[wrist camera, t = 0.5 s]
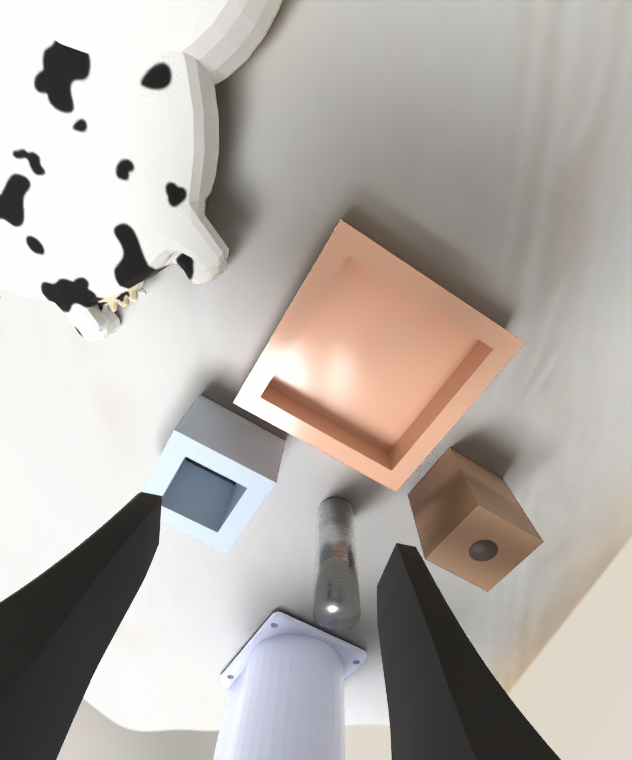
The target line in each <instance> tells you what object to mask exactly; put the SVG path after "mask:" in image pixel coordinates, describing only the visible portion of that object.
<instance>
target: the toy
mask: <svg viewBox="0 0 632 760" xmlns="http://www.w3.org/2000/svg"><path fill="white" fill-rule="evenodd" d="M282 1H283V0H0V288H1V289H4V290H7V291H10V292H13V293H16V294H18V295H21V296H26V297H30V298H35V299H40V300H48V301H52V302H55V303H56V304H57V305H58V306H59V307H60V309H61V310H62V311H63V312H64V313H65V314H66V316H67V317H68V318H69V320H70V321H71V323H72V324H73V325H74V326H75V328H76V330H77V331H78V333H79V334H80V335H81V336H82V337H83V338H85V339H86V340H87V341H90V342H98V341H100V340H101V339H103V338H105V337H107V336H109V335H110V334H112V333H114V332H115V331H116V330H118V329H119V327H120V326H121V323H120V319H119V318H118V316H117V315H116V314H115V313H114V312H115V311H116V310H117V306H118V304H119V305H121V306H122V307H127V306H128V304H129V300H130V301H132V302H136V301H137V300H138V299H137V298H138V294H137V293H139V294H141V295H146V292H145V290H144V289H143V288H142V285H143V283H144V281H145V280H147V279H148V278H150V277H151V276H153V275H155V274H156V273H158V272H159V271H161V270H163V269H164V268H166V267H167V266H169V265H171V264H177V265H179V266H180V267H181V268H182V269H183V270H184V271H185V273H186V275H187V276H188V278H189V280H190V281H191V282H193V283H195V284H196V285H198V284H206V283H208V282H210V281H212V280H213V279H215V278H217V277H218V276H219V275H220V274H221V273H223V272H224V271H225V270H226V268H227V265H228V263H227V258H228V256H229V248H228V247H227V245H226V244H225V243H224V241H223V240H222V238H221V237H220V236H219V234H218V233H217V231H216V230H215V229H214V227H213V226H212V224H211V223H210V222H209V220H208V219H207V217H206V216H205V212H206V208H207V205H208V201H209V198H210V194H211V191H212V187H213V184H214V181H215V177H216V170H217V163H218V156H219V115H218V108H217V100H216V92H215V85H216V84H218V83H220V82H221V81H223V80H225V79H226V78H228V77H229V76H230V75H231V74H232V73H234V72H235V71H236V70H237V69H238V68H239V67H240V66H241V65H242V64H243V63H245V62H246V61H247V60H248V58H249V57H250V56H251V54H252V53H253V52H254V50H255V49H256V48H257V46H258V45H259V44H260V43H261V41H262V40H263V39H264V37H265V36H266V34H267V32H268V30H269V28H270V26H271V24H272V22H273V20H274V18H275V16H276V15H277V13H278V11H279V9H280V7H281V4H282ZM0 298H1V297H0Z"/></svg>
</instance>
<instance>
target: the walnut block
mask: <svg viewBox="0 0 632 760" xmlns="http://www.w3.org/2000/svg"><path fill="white" fill-rule="evenodd" d="M408 497H409V501H410V505H411V509H412V512H413V516H414V520H415V523H416V527H417V531H418V534H419V538H420V542H421V546H422V549H423V553H424V557H425V559H426V560H428V561H430V562H432V563H434V564H436V565H438V566H439V567H441V568H443V569H445V570H447V571H449V572H451V573H453V574H455V575H457V576H459V577H461V578H463V579H464V580H466V581H468V582H470V583H472V584H474V585H476V586H478V587H480V588H482V589H484V590H486V591H487V592H488V591H489V590H490V589H491V588H492V587H494V586H495V585H496V584H497V583H498V582H499V581H500V580H501V579H503V578H504V577H505V576H506V575H507V574H508V573H509V572H510V571H511V570H513V569H514V568H515V567H516V566H517V565H518V564H519V563H520V562H522V561H523V560H524V559H525V558H526V557H527V556H528V555H529V554H531V553H532V552H533V551H534V550H535V549H536V548H537V547H538V546H540V545H541V544H542V543H543V540H542V539H541V537H540V536H539V534H538V532H537V531H536V529H535V528H534V526H533V525H532V523H531V522H530V520H529V519H528V517H527V515H526V514H525V512H524V511H523V509H522V508H521V506H520V505H519V503H518V502H517V500H516V499H515V497H514V495H513V494H512V492H511V491H510V489H509V488H508V486H507V485H506V483H505V482H504V480H503V479H502V478H501V477H499V476H497V475H495V474H494V473H492V472H490V471H489V470H487V469H485V468H483V467H482V466H480V465H478V464H477V463H475V462H473V461H472V460H470V459H468V458H466V457H465V456H463V455H461V454H460V453H458V452H456V451H455V450H453V449H451V448H448V449H447V450H446V452H445V453H444V454H443V455H442V456H441V457H440V458H439V460H438V461H437V462H436V463H435V464H434V465H433V466H432V468H431V469H430V470H429V471H428V472H427V473H426V474H425V475H424V477H423V478H422V479H421V480H420V481H419V482H418V483H417V485H416V486H415V487H414V488H413V489H412V490H411V491H410V493H409V494H408Z"/></svg>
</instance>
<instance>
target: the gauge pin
mask: <svg viewBox="0 0 632 760" xmlns="http://www.w3.org/2000/svg"><path fill="white" fill-rule="evenodd" d="M313 616H314V619H315V620H316V622H317V623H318V624H319V625H321V626H322V627H324V628H327V629H330V630H345V629H348V628H351V627H353V626H354V625H355V624H356V623H357V622H358V621H359V619H360V601H359V586H358V572H357V558H356V543H355V529H354V515H353V508H352V505H351V504H350V503H349V502H348V501H347V500H345V499H342V498H338V497H333V498H329V499H326V500H325V501H323V502H322V503H321V504H320V506H319V509H318V527H317V547H316V567H315V588H314V608H313Z"/></svg>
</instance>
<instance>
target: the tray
mask: <svg viewBox="0 0 632 760" xmlns="http://www.w3.org/2000/svg"><path fill="white" fill-rule="evenodd" d="M524 343H525V342H523V341H522V340H520V339H519V338H517V337H516V336H514V335H513V334H511V333H510V332H508V331H507V330H505V329H504V328H502V327H501V326H499V325H498V324H496V323H495V322H493V321H492V320H491V319H489V318H488V317H486V316H485V315H483V314H482V313H480V312H479V311H477V310H476V309H474V308H473V307H471V306H470V305H468V304H467V303H465V302H464V301H462V300H461V299H459V298H458V297H456V296H455V295H453V294H452V293H450V292H449V291H447V290H446V289H444V288H443V287H441V286H440V285H438V284H437V283H435V282H434V281H432V280H431V279H429V278H428V277H426V276H425V275H423V274H422V273H420V272H419V271H417V270H416V269H414V268H413V267H411V266H410V265H408V264H407V263H405V262H404V261H402V260H401V259H399V258H398V257H396V256H395V255H393V254H392V253H390V252H389V251H387V250H386V249H384V248H383V247H381V246H380V245H378V244H377V243H375V242H374V241H372V240H371V239H369V238H368V237H366V236H365V235H363V234H362V233H360V232H359V231H357V230H356V229H354V228H353V227H351V226H350V225H348V224H347V223H345V222H344V221H342V220H341V219H340V221H339V222H338V224H337V226H336V227H335V229H334V231H333V233H332V234H331V236H330V238H329V239H328V241H327V243H326V244H325V246H324V248H323V250H322V251H321V253H320V255H319V256H318V258H317V260H316V261H315V263H314V265H313V266H312V268H311V270H310V272H309V273H308V275H307V277H306V278H305V280H304V282H303V283H302V285H301V287H300V289H299V290H298V292H297V294H296V295H295V297H294V299H293V300H292V302H291V304H290V306H289V307H288V309H287V311H286V312H285V314H284V316H283V317H282V319H281V321H280V322H279V324H278V326H277V328H276V329H275V331H274V333H273V334H272V336H271V338H270V339H269V341H268V343H267V345H266V346H265V348H264V350H263V351H262V353H261V355H260V356H259V358H258V360H257V362H256V363H255V365H254V367H253V368H252V370H251V372H250V373H249V375H248V377H247V378H246V380H245V382H244V384H243V385H242V387H241V389H240V391H239V393H238V395H237V396H236V398H235V400H234V402H233V403H234V404H236V405H238V406H239V407H241V408H243V409H245V410H247V411H249V412H250V413H252V414H254V415H256V416H258V417H260V418H261V419H263V420H265V421H267V422H269V423H271V424H272V425H274V426H276V427H278V428H280V429H281V430H283V431H285V432H287V433H289V434H291V435H292V436H294V437H296V438H298V439H300V440H302V441H303V442H305V443H307V444H309V445H311V446H313V447H314V448H316V449H318V450H320V451H322V452H323V453H325V454H327V455H329V456H331V457H333V458H334V459H336V460H338V461H340V462H342V463H344V464H345V465H347V466H349V467H351V468H353V469H355V470H356V471H358V472H360V473H362V474H364V475H365V476H367V477H369V478H371V479H373V480H375V481H376V482H378V483H380V484H382V485H384V486H386V487H387V488H389V489H391V490H393V491H395V492H397V491H398V489H399V488H400V487H401V486H402V485H403V484H404V482H405V481H406V480H407V479H408V478H409V477H410V476H411V474H412V473H413V472H414V471H415V470H416V469H417V467H418V466H419V465H420V464H421V463H422V462H423V460H424V459H425V458H426V457H427V456H428V455H429V453H430V452H431V451H432V450H433V449H434V448H435V447H436V445H437V444H438V443H439V442H440V441H441V440H442V438H443V437H444V436H445V435H446V434H447V433H448V431H449V430H450V429H451V428H452V427H453V426H454V424H455V423H456V422H457V421H458V420H459V419H460V418H461V416H462V415H463V414H464V413H465V412H466V411H467V409H468V408H469V407H470V406H471V405H472V404H473V402H474V401H475V400H476V399H477V398H478V397H479V395H480V394H481V393H482V392H483V391H484V390H485V388H486V387H487V386H488V385H489V384H490V383H491V382H492V380H493V379H494V378H495V377H496V376H497V375H498V373H499V372H500V371H501V370H502V369H503V368H504V366H505V365H506V364H507V363H508V362H509V361H510V359H511V358H512V357H513V356H514V355H515V354H516V353H517V351H518V350H519V349H520V348H521V347H522V346H523V344H524Z"/></svg>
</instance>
